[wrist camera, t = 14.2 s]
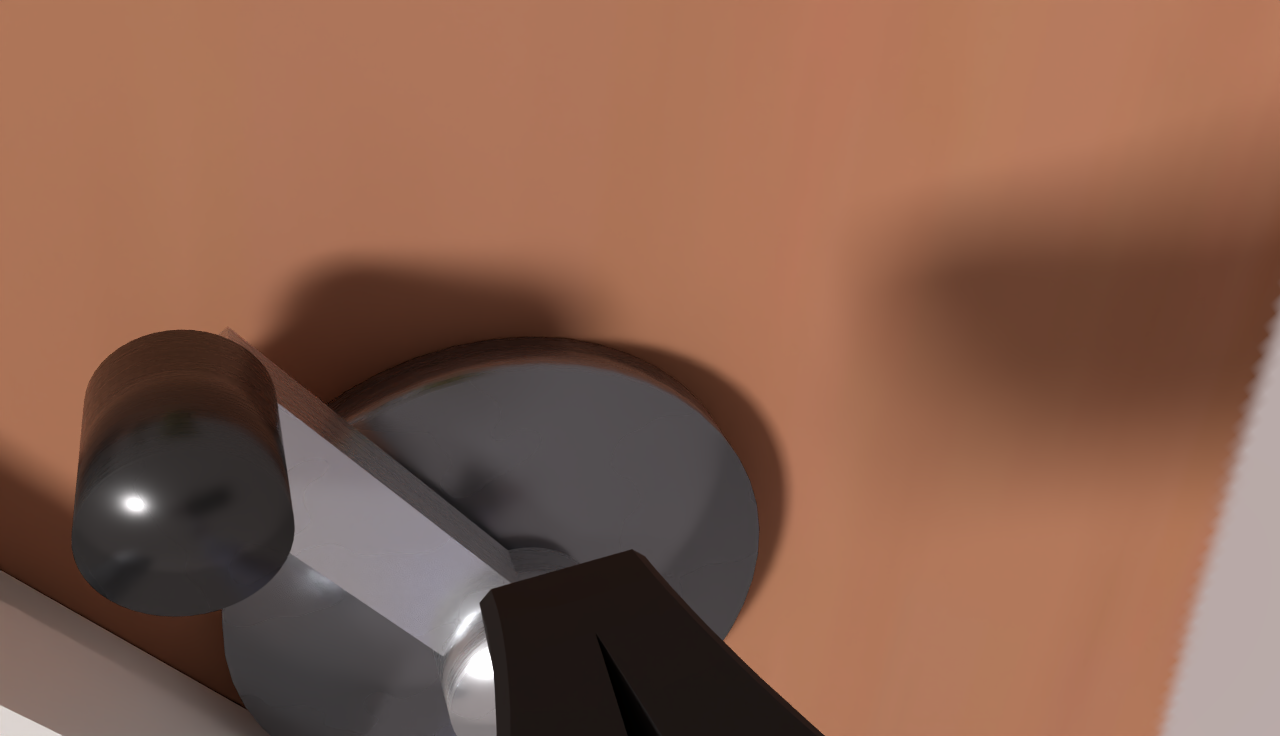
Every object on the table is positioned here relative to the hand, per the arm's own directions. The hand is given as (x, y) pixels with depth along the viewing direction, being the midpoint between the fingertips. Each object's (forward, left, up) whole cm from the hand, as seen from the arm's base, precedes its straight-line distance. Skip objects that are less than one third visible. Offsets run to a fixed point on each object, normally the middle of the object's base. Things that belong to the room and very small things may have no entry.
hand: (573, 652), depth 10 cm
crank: (-2, +3, -7) cm, 8 cm away
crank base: (-6, +3, -8) cm, 11 cm away
